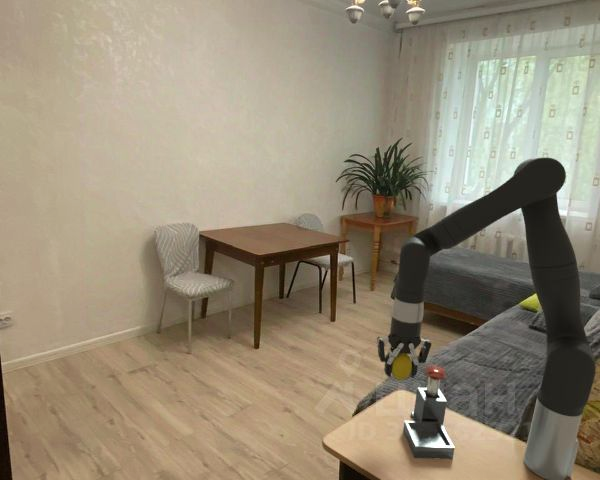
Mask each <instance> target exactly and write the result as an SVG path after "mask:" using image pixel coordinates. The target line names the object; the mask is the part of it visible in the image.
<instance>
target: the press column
mask: <svg viewBox="0 0 600 480" xmlns="http://www.w3.org/2000/svg"><path fill="white" fill-rule="evenodd" d="M426 391H427V387H418V386H417V389H416V395H415V402H414V409H413V411H411V412H410V416H411V418H412V421H424V422H441V424H442V426H443V428H444V430H445V431H446V428H445V427H444V423H445V422H444V420H445V415H446V410H447V403H448V401H447V399H446V397H445V396H444V394H443V393H442V391H441V390H440V388H439V391H438V397H437V398H427V396H426Z"/></svg>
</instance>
